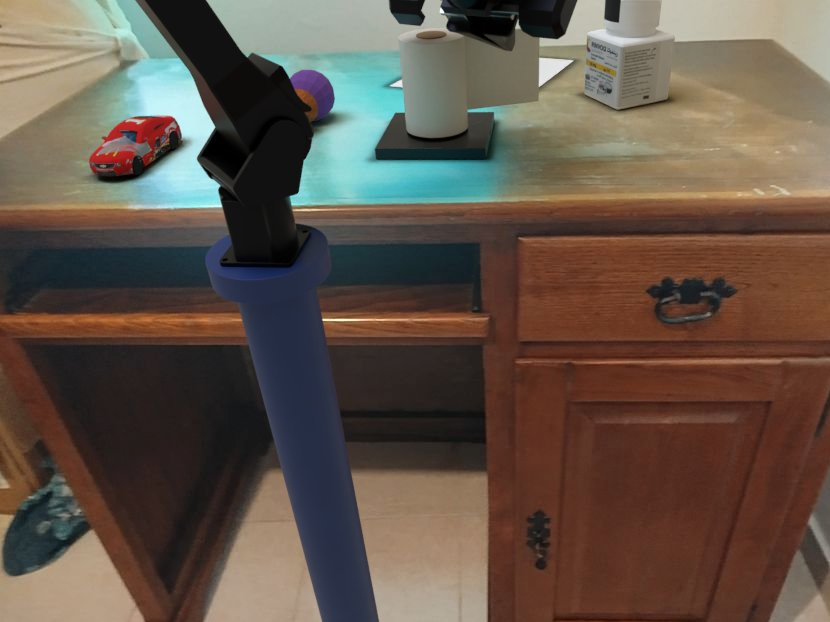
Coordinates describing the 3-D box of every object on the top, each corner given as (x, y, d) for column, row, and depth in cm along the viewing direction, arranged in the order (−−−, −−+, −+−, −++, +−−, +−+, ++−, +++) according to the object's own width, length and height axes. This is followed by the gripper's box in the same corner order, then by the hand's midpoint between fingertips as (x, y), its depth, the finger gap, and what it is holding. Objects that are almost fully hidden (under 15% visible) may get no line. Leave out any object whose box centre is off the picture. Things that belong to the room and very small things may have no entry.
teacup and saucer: (514, 63, 108) (514, 34, 105) (492, 78, 102) (491, 47, 100) (461, 58, 111) (460, 30, 109) (436, 72, 105) (435, 43, 103)
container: (582, 94, 94) (588, -16, 87) (632, 85, 97) (642, -24, 89) (616, 111, 89) (626, -6, 81) (668, 100, 91) (682, -15, 84)
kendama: (221, 136, 75) (286, 67, 90) (245, 187, 79) (304, 113, 94) (272, 126, 74) (330, 58, 88) (294, 179, 77) (347, 105, 92)
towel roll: (539, 114, 84) (540, 23, 79) (441, 147, 77) (434, 48, 71) (489, 99, 90) (488, 12, 84) (394, 127, 83) (384, 35, 77)
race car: (129, 184, 76) (117, 147, 74) (84, 182, 77) (70, 145, 75) (192, 139, 87) (183, 105, 84) (151, 137, 88) (141, 104, 85)
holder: (485, 159, 78) (485, 148, 77) (375, 159, 79) (374, 148, 78) (494, 121, 87) (494, 111, 87) (396, 122, 89) (395, 112, 88)
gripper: (580, -145, 59) (619, -18, 73) (394, -141, 67) (460, -27, 81) (535, -21, 58) (583, 83, 72) (351, -32, 67) (426, 64, 81)
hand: (510, 46), depth 77 cm, fingers closed
